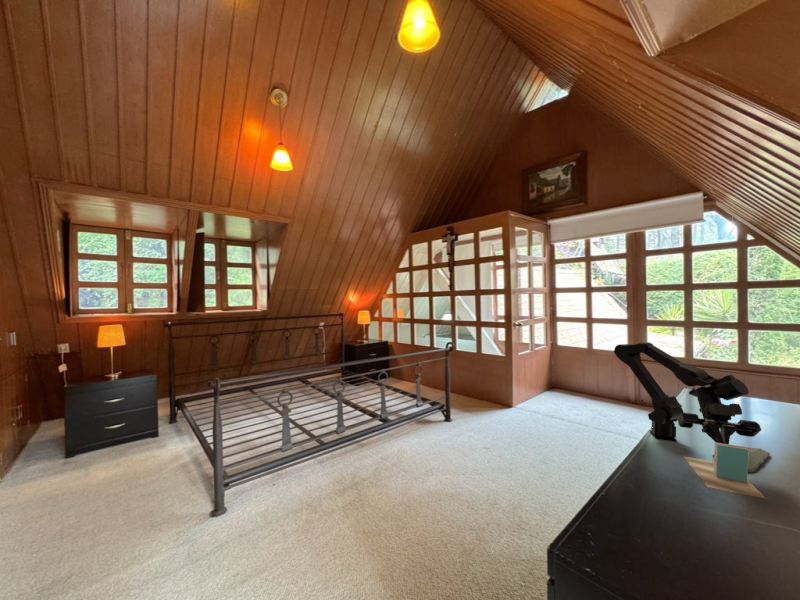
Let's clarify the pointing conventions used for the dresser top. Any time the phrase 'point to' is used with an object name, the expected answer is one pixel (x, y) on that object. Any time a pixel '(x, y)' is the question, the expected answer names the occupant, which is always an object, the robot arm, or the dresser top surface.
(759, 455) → the stone slab
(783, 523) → the dresser top surface
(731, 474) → the glazed tile
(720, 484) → the tan wooden board
